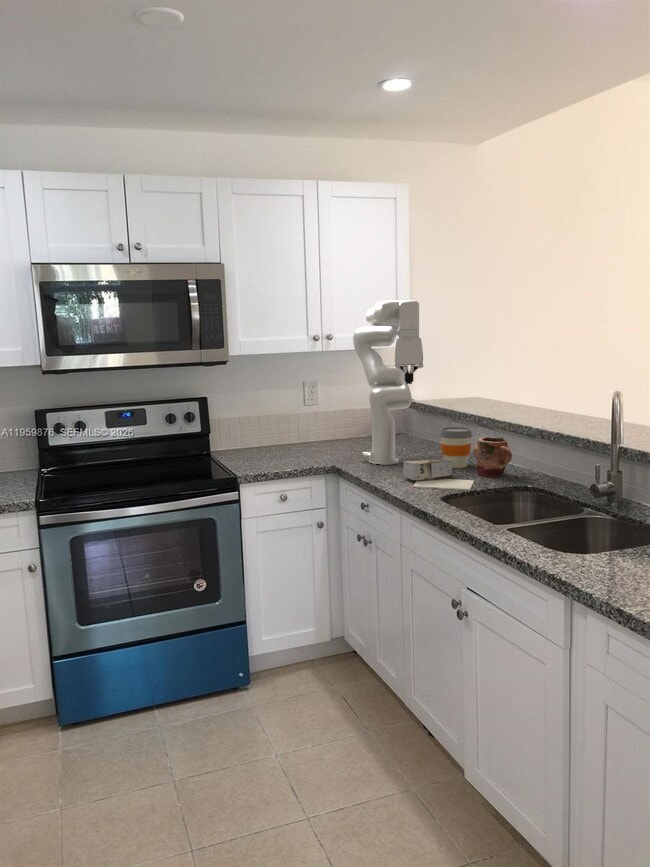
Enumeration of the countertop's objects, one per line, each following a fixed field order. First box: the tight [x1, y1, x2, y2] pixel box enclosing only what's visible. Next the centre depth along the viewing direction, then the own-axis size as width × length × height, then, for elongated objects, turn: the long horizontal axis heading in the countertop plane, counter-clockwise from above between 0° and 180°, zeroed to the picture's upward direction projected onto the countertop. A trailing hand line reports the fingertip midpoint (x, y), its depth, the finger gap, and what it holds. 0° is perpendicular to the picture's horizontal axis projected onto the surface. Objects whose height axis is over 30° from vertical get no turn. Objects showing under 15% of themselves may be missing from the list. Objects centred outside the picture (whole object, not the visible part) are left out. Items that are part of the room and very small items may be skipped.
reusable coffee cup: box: [439, 426, 473, 469], centre depth 286 cm, size 13×13×15 cm
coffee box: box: [403, 459, 454, 481], centre depth 264 cm, size 9×6×16 cm
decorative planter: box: [472, 437, 513, 478], centre depth 268 cm, size 20×12×14 cm, turn 30°
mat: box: [412, 478, 475, 491], centre depth 255 cm, size 20×14×1 cm
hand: (409, 383), depth 267 cm, fingers closed
